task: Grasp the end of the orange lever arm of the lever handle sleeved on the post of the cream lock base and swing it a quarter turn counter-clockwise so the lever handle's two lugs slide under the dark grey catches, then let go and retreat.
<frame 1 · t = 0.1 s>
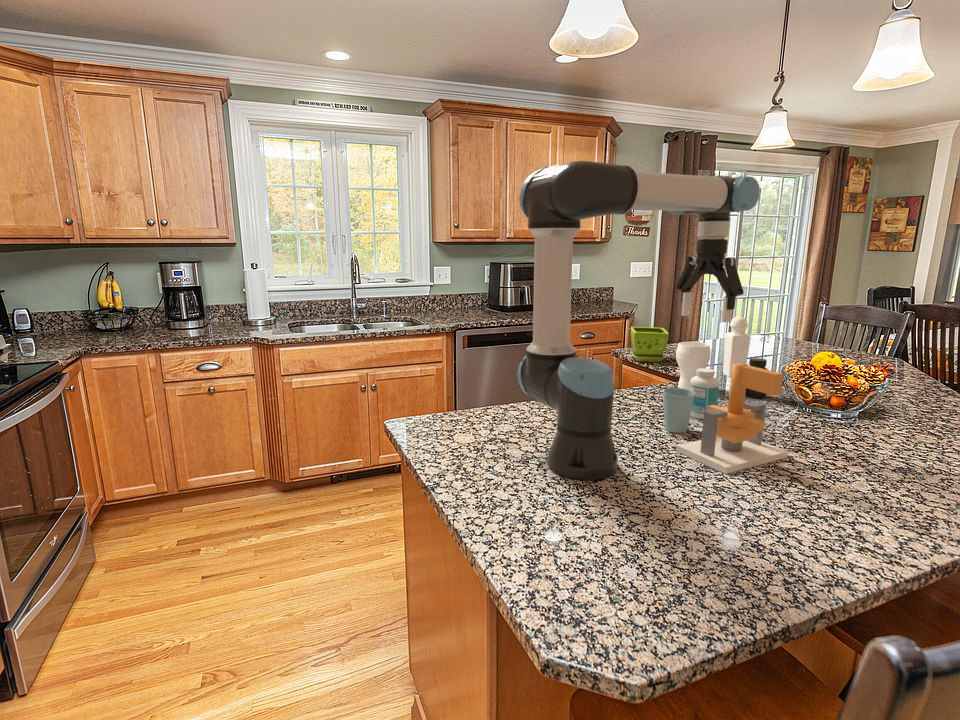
hand: (705, 318, 144), 28 cm above the worktop, fingers open, 13 cm apart
lock base: (730, 454, 124), on the worktop
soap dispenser: (733, 376, 196), on the worktop
lever handle: (741, 402, 120), point 13 cm above the worktop, hinge at 0.0°
supplement bottle: (754, 396, 171), on the worktop
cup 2: (690, 388, 180), on the worktop
pill bottle: (701, 416, 151), on the worktop
cup: (675, 430, 141), on the worktop
flower pot: (647, 359, 223), on the worktop
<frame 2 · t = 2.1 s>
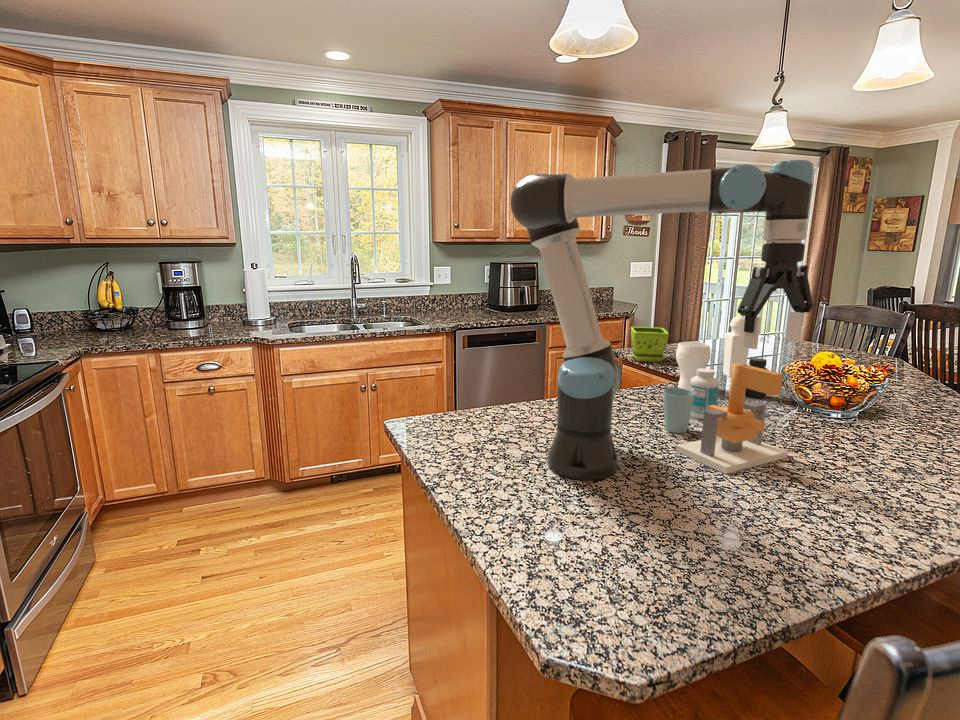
hand: (772, 345, 112), 27 cm above the worktop, fingers open, 13 cm apart
nothing on the worktop moved.
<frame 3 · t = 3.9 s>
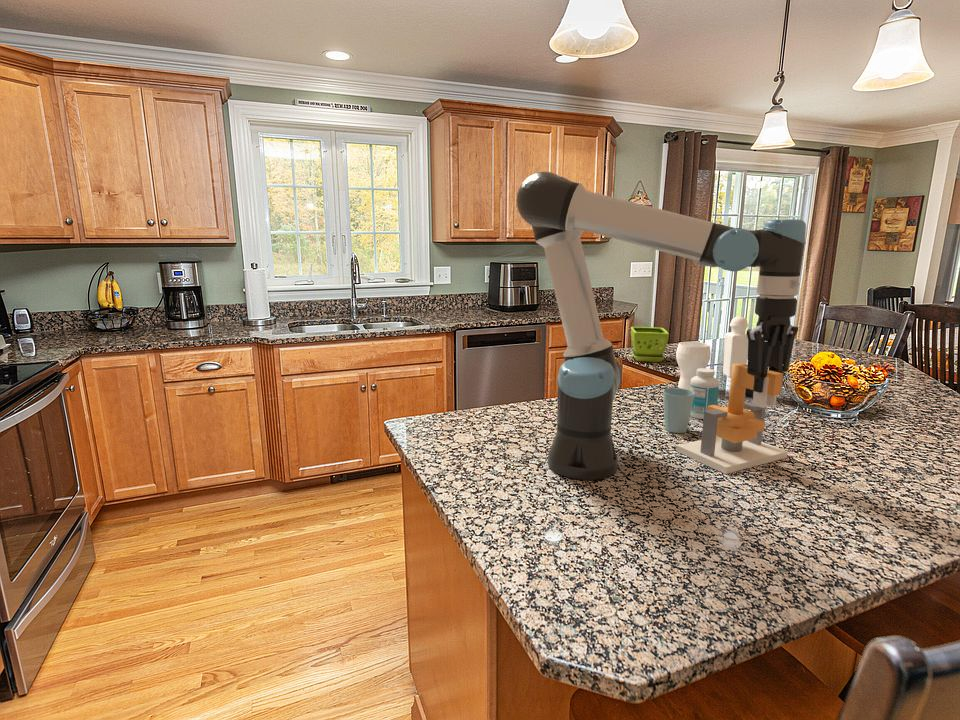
hand: (763, 404, 115), 14 cm above the worktop, fingers closed on lever handle, 2 cm apart
lever handle: (741, 402, 120), point 13 cm above the worktop, hinge at 0.0°, touching gripper
everything else where it was.
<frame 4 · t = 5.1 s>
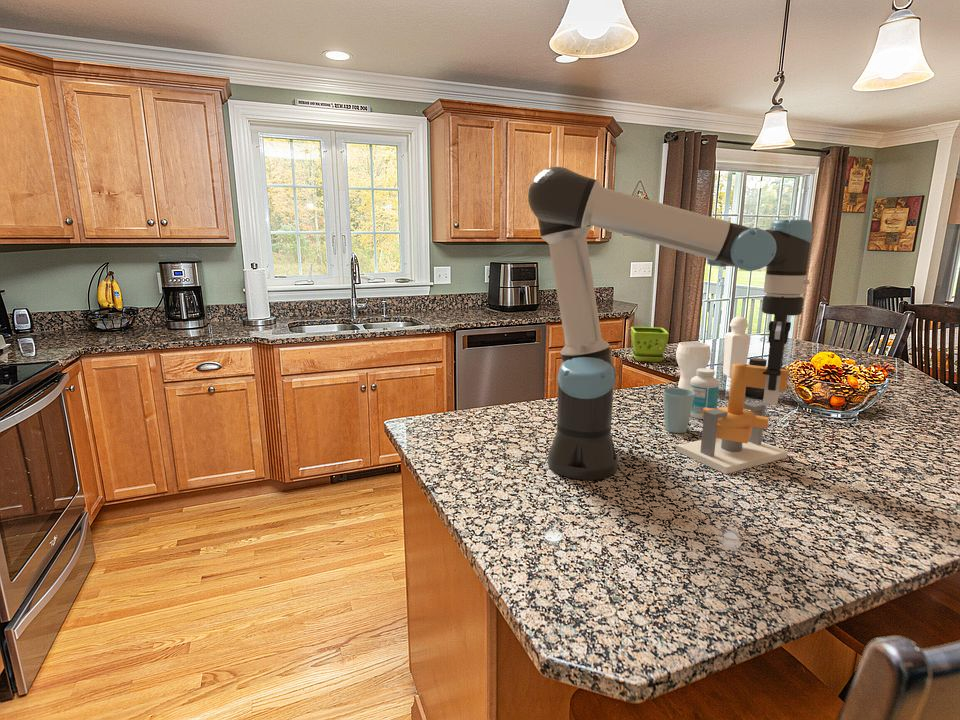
hand: (770, 401, 117), 14 cm above the worktop, fingers closed on lever handle, 2 cm apart
lever handle: (742, 401, 121), point 13 cm above the worktop, hinge at 30.9°, touching gripper
everything else where it was.
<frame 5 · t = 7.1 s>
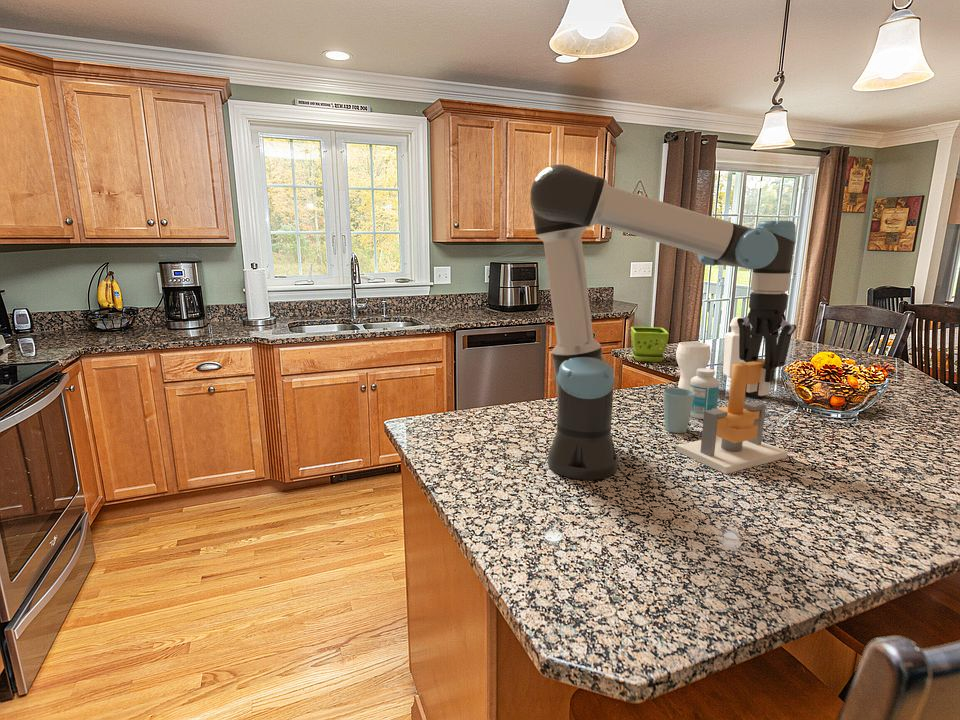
hand: (757, 392, 124), 14 cm above the worktop, fingers closed on lever handle, 2 cm apart
lever handle: (740, 400, 122), point 13 cm above the worktop, hinge at 89.5°, touching gripper
everything else where it was.
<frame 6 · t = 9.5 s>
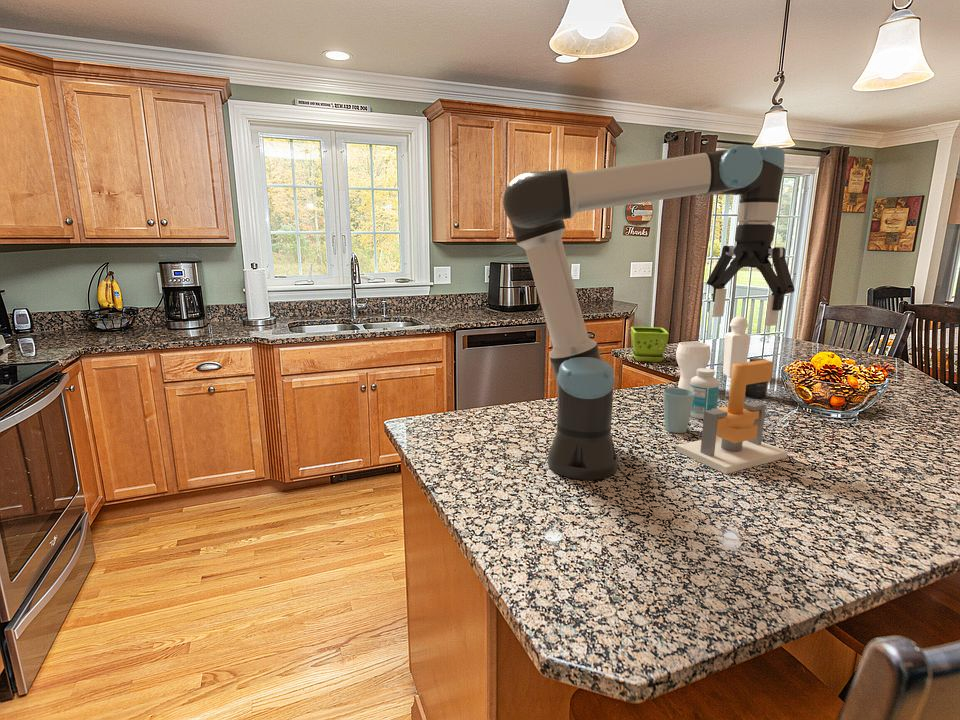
hand: (742, 320, 120), 31 cm above the worktop, fingers open, 13 cm apart
lever handle: (740, 400, 122), point 13 cm above the worktop, hinge at 90.2°
everything else where it was.
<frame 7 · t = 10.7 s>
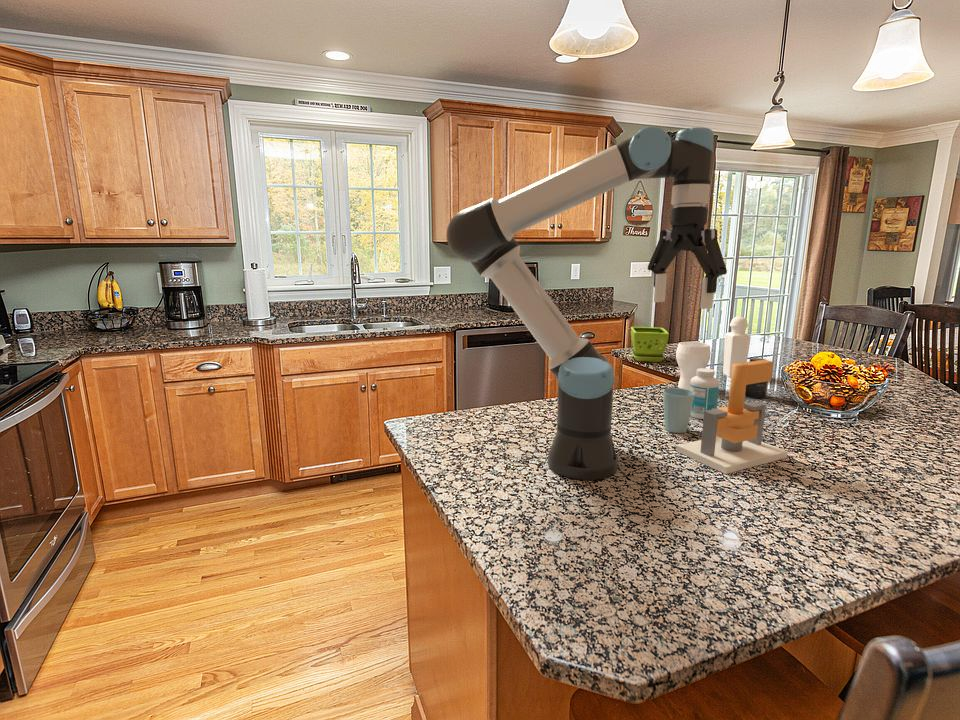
hand: (681, 305, 119), 35 cm above the worktop, fingers open, 13 cm apart
nothing on the worktop moved.
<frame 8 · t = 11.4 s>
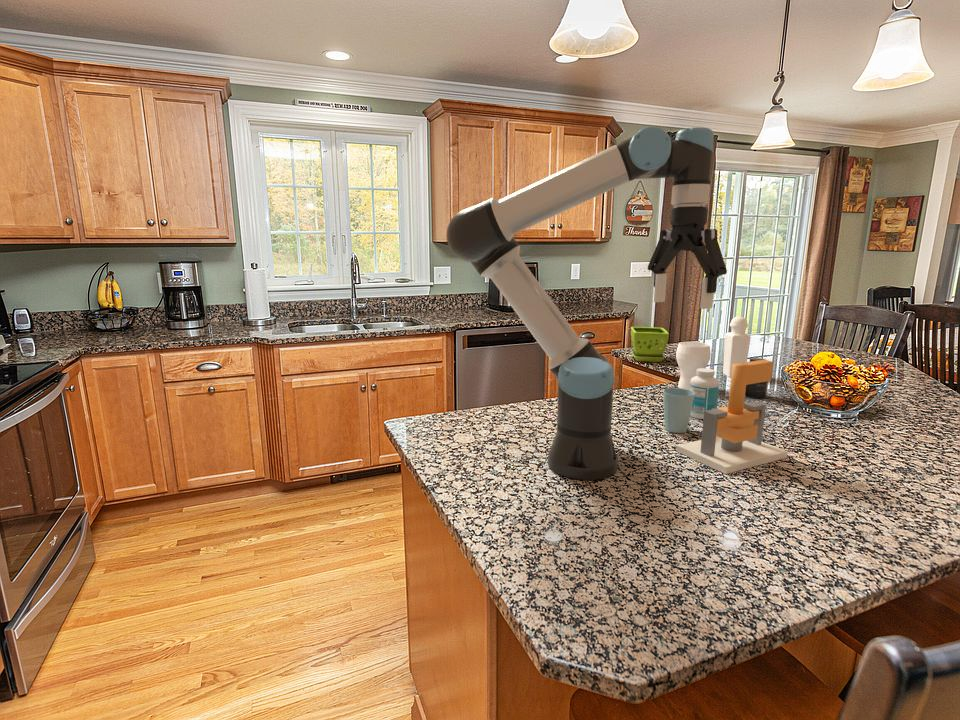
hand: (681, 305, 119), 35 cm above the worktop, fingers open, 13 cm apart
nothing on the worktop moved.
at the end: lever handle at +90° (first picture: +0°); the gripper is holding nothing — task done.
